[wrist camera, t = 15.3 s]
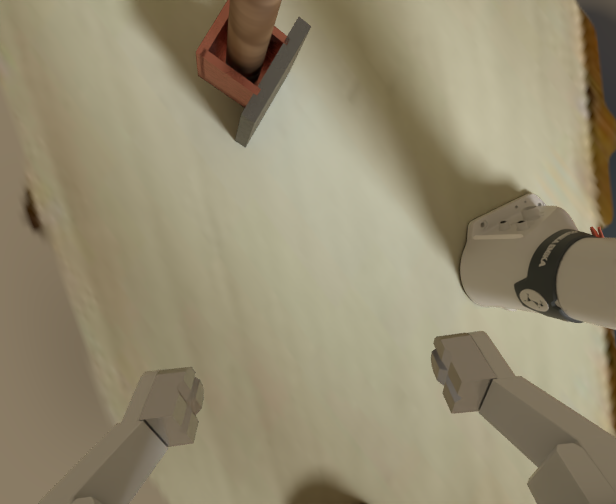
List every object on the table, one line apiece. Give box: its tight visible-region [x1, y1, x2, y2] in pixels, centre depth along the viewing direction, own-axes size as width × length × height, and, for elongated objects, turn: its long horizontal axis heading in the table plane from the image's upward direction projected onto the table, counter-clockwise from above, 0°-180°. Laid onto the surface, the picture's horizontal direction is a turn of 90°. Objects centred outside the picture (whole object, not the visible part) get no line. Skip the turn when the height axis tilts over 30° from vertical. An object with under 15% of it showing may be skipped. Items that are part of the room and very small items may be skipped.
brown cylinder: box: [226, 0, 282, 83], centre depth 27 cm, size 4×4×14 cm
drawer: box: [196, 0, 311, 147], centre depth 35 cm, size 12×8×10 cm, turn 150°
